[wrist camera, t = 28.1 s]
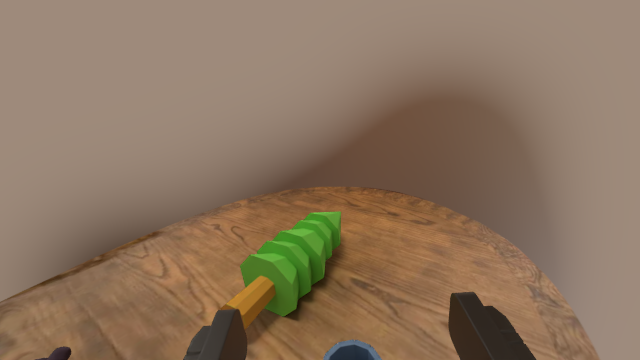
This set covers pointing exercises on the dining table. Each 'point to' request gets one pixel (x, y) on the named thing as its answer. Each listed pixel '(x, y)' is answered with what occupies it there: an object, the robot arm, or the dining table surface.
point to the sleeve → (352, 351)
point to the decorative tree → (287, 267)
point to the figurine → (59, 354)
